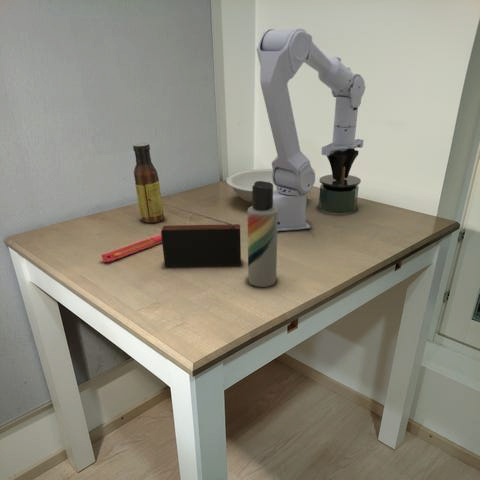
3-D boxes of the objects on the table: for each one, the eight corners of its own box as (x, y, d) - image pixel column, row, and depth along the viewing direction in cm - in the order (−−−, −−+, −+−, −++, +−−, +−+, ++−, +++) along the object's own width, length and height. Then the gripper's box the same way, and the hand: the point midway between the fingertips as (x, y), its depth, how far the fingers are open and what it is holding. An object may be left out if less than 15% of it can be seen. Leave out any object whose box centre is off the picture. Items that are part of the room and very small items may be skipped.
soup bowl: (215, 211, 134) (214, 188, 130) (240, 187, 153) (240, 166, 150) (299, 218, 128) (300, 193, 124) (313, 192, 147) (315, 171, 144)
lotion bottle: (259, 272, 99) (259, 177, 89) (281, 279, 96) (284, 181, 86) (242, 282, 96) (240, 183, 85) (265, 290, 93) (265, 189, 82)
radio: (240, 260, 105) (239, 193, 97) (240, 266, 102) (239, 198, 95) (157, 261, 105) (149, 195, 97) (155, 267, 103) (147, 199, 95)
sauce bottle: (166, 216, 131) (158, 141, 120) (161, 224, 126) (152, 146, 115) (143, 216, 132) (133, 141, 121) (137, 223, 126) (126, 146, 116)
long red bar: (100, 263, 107) (109, 262, 104) (96, 254, 106) (106, 253, 103) (180, 233, 122) (191, 232, 118) (178, 225, 121) (189, 224, 118)
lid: (326, 190, 124) (328, 172, 122) (314, 179, 134) (315, 162, 131) (366, 187, 126) (369, 170, 123) (351, 177, 135) (353, 160, 133)
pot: (325, 216, 129) (327, 193, 125) (314, 204, 137) (315, 182, 134) (361, 213, 130) (364, 190, 126) (348, 202, 139) (350, 180, 135)
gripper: (338, 131, 115) (333, 186, 123) (375, 123, 123) (368, 176, 130) (317, 127, 120) (313, 181, 127) (353, 120, 128) (348, 171, 135)
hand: (340, 178), depth 129 cm, fingers closed on lid, 2 cm apart
